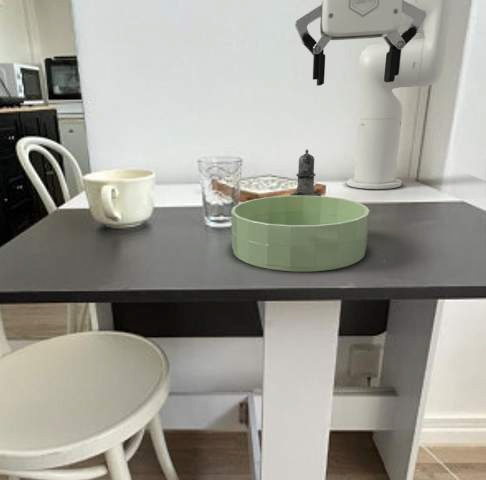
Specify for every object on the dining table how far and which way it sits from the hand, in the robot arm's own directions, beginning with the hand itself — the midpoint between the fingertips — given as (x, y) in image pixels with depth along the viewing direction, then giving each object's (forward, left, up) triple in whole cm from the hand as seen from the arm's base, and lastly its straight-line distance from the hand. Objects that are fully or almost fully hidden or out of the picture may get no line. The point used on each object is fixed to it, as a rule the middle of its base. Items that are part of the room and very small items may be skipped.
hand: (354, 83), depth 63 cm
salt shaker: (-13, -5, -22) cm, 27 cm away
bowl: (+8, -8, -22) cm, 25 cm away
